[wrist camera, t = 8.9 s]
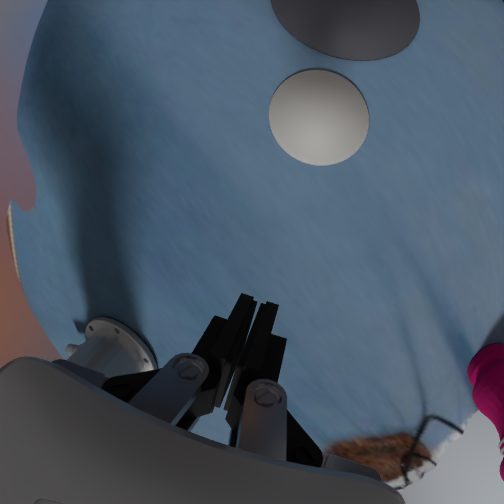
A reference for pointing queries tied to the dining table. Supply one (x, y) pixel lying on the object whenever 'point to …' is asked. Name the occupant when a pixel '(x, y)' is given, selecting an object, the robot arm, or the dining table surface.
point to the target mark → (351, 26)
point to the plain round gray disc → (318, 117)
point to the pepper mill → (490, 388)
